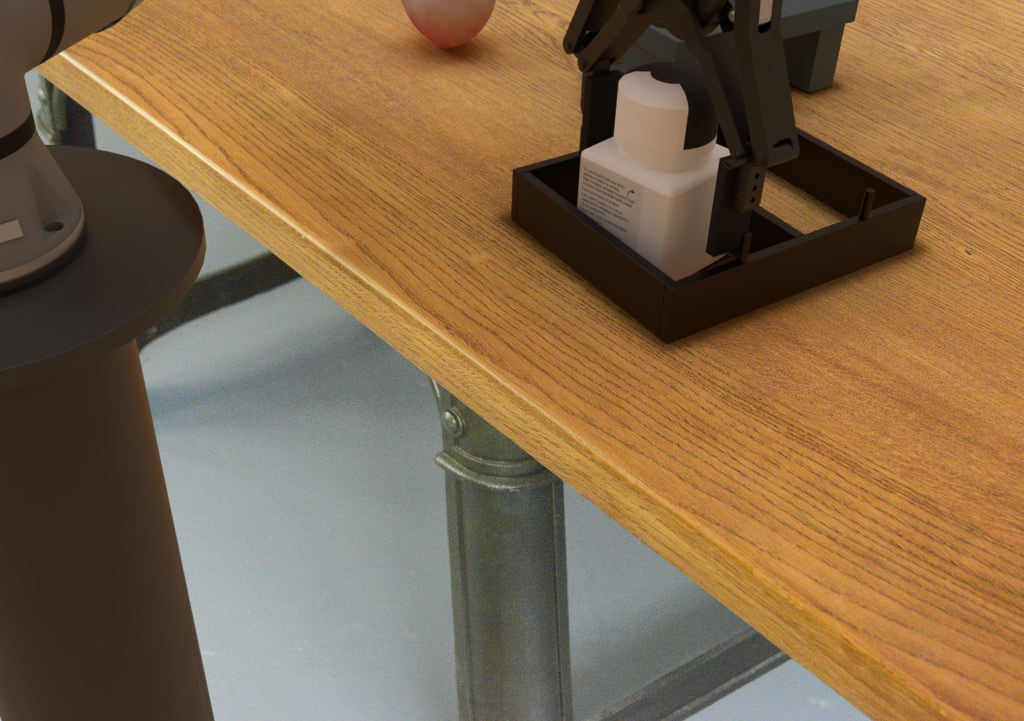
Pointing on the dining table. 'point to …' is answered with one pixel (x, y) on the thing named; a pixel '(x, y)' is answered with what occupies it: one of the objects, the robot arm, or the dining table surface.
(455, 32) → the decorative fruit
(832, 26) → the stand
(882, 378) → the dining table surface
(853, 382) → the dining table surface
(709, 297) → the rack
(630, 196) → the container
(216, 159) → the dining table surface
